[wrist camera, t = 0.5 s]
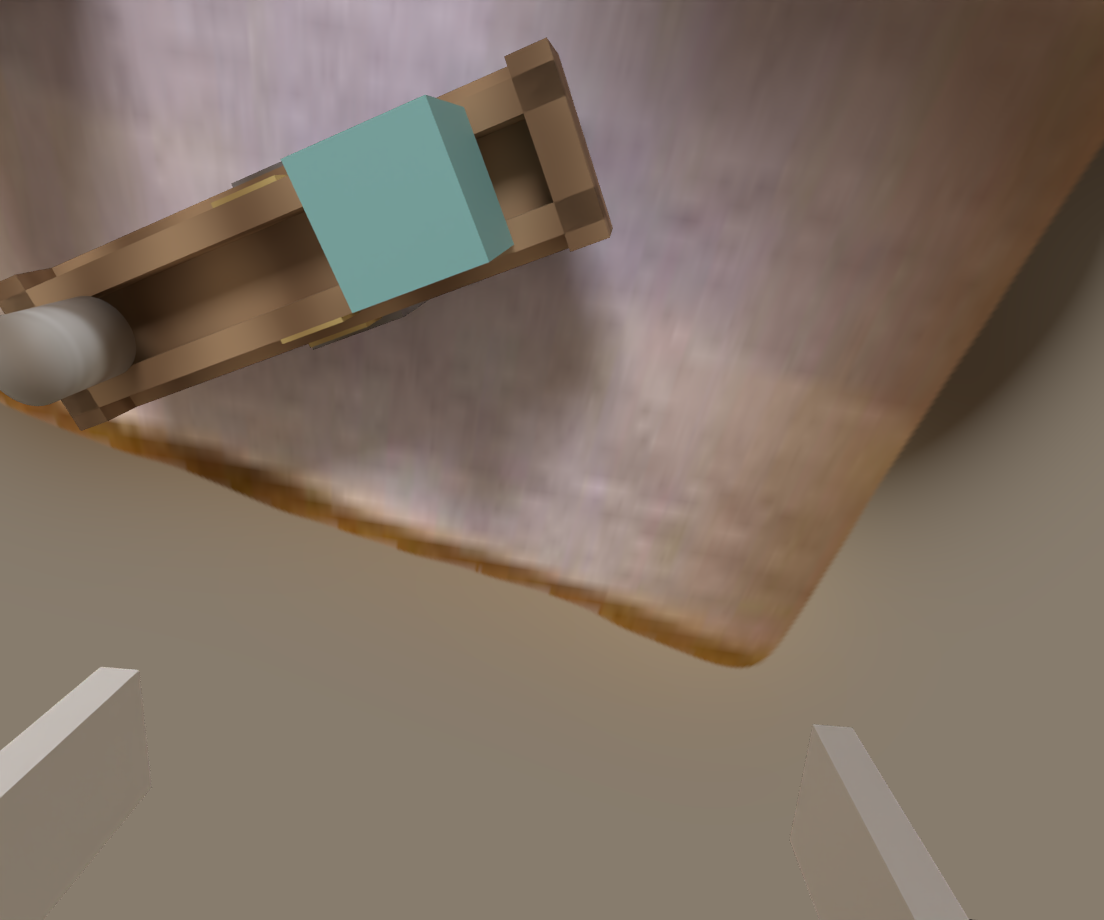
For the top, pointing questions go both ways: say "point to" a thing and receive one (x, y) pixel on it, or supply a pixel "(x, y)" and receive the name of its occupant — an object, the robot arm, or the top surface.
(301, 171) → the block
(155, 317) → the beam
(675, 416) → the top surface
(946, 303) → the top surface
